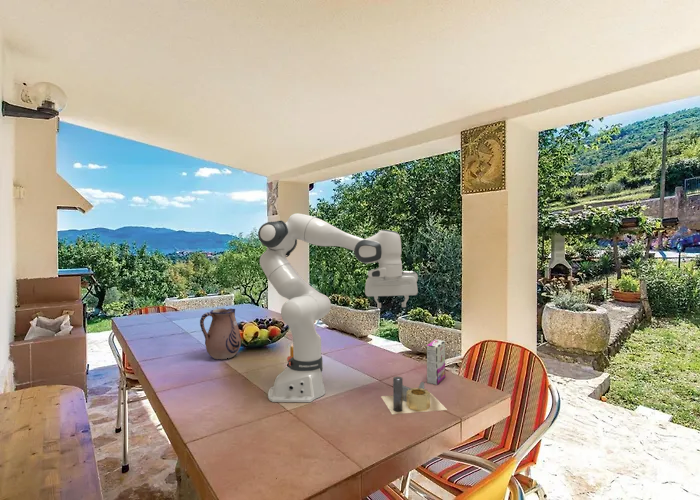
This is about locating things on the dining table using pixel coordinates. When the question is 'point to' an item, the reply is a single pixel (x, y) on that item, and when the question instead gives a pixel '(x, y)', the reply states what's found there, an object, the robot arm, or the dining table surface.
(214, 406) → the dining table surface
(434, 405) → the oak board
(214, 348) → the ceramic pitcher
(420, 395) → the hinge leaves
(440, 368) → the candy bar box
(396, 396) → the hinge pin
